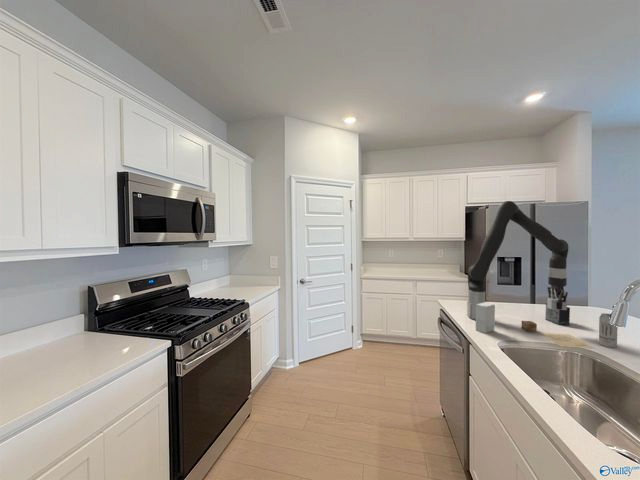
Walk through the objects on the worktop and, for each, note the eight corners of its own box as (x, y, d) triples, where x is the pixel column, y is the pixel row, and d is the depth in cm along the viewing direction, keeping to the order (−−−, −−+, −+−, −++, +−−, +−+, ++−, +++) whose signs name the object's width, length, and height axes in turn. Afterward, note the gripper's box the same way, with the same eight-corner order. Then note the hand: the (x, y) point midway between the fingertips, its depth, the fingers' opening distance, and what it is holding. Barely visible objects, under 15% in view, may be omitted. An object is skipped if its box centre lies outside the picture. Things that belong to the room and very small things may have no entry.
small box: (570, 325, 161) (571, 307, 161) (559, 325, 161) (559, 307, 161) (555, 319, 172) (555, 302, 171) (544, 319, 172) (545, 302, 171)
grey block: (551, 309, 149) (551, 300, 149) (547, 307, 153) (547, 298, 153) (566, 310, 148) (566, 300, 148) (562, 308, 152) (562, 298, 151)
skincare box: (484, 327, 158) (484, 301, 157) (495, 331, 152) (495, 304, 152) (474, 330, 154) (475, 303, 154) (485, 333, 149) (485, 306, 148)
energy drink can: (597, 345, 132) (598, 314, 132) (600, 342, 136) (601, 312, 136) (615, 350, 128) (616, 317, 127) (618, 346, 131) (619, 315, 131)
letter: (560, 346, 132) (560, 345, 132) (539, 333, 149) (539, 332, 149) (595, 349, 129) (595, 348, 129) (569, 335, 146) (569, 334, 146)
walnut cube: (525, 332, 150) (526, 323, 150) (521, 329, 155) (521, 320, 155) (536, 333, 149) (536, 324, 149) (531, 330, 154) (531, 321, 154)
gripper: (542, 274, 158) (541, 304, 158) (557, 278, 144) (556, 311, 144) (557, 274, 156) (556, 305, 157) (574, 278, 142) (573, 312, 143)
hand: (556, 307), depth 150 cm, fingers closed on grey block, 4 cm apart
